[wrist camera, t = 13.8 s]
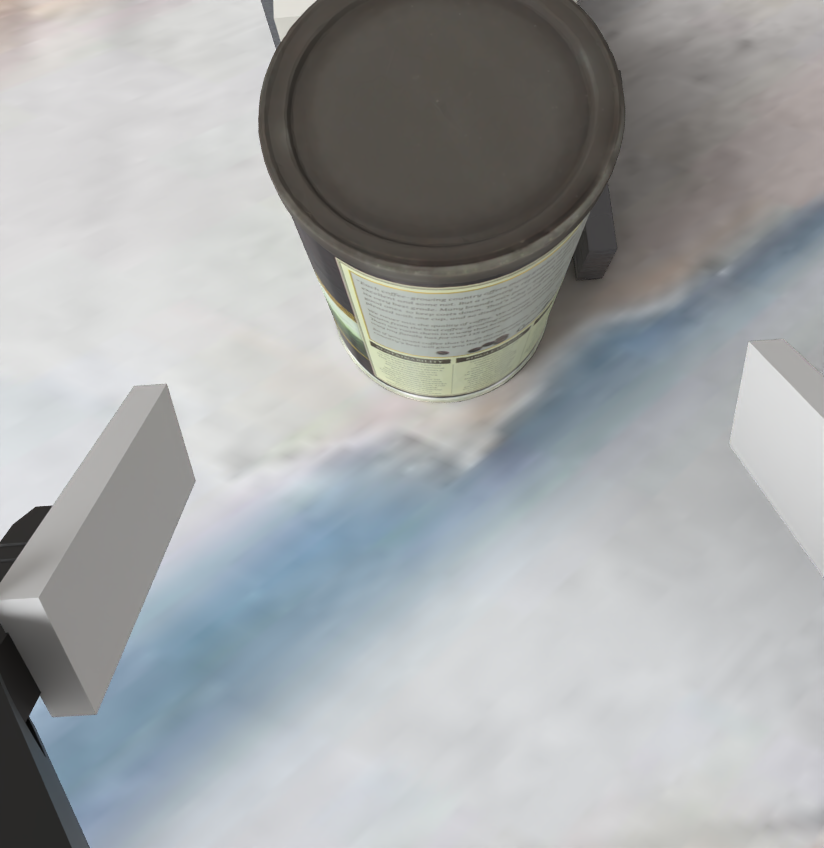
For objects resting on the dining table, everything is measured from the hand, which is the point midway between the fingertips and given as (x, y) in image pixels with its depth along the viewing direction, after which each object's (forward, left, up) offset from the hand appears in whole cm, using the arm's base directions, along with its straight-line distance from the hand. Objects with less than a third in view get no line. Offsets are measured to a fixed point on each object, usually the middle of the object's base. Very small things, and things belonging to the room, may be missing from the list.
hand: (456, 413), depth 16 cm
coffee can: (+9, -3, -16) cm, 18 cm away
